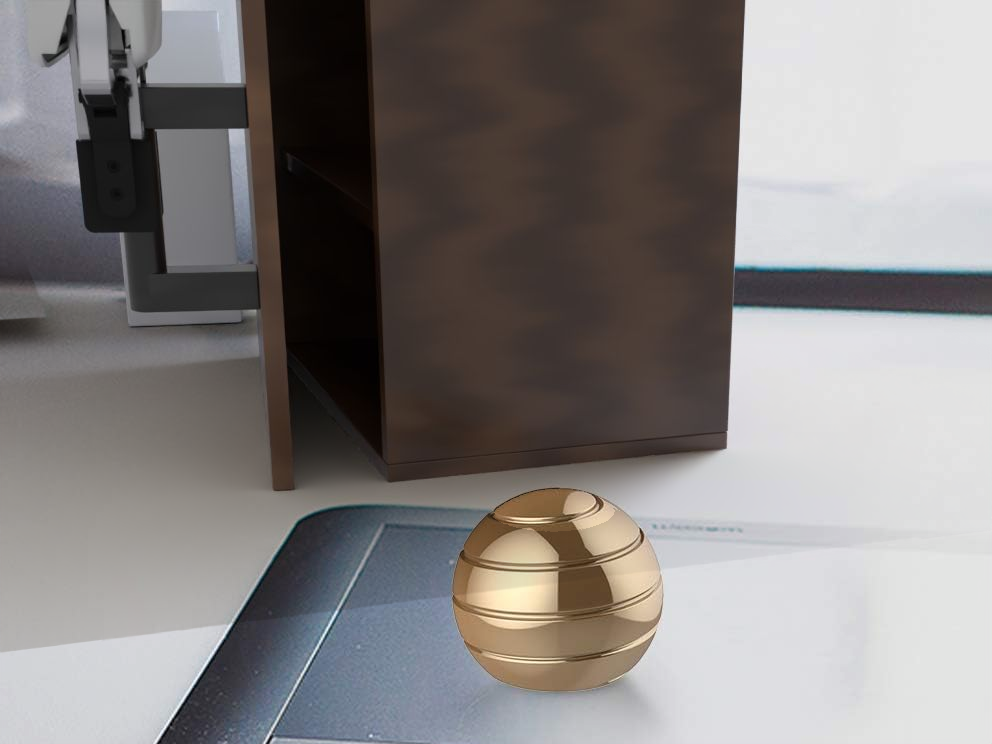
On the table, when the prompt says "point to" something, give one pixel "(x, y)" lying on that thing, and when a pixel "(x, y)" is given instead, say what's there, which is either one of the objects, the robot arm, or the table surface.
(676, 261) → the cupboard
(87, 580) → the table surface
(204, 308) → the cupboard door
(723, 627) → the table surface
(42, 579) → the table surface
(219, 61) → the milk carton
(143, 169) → the robot arm
